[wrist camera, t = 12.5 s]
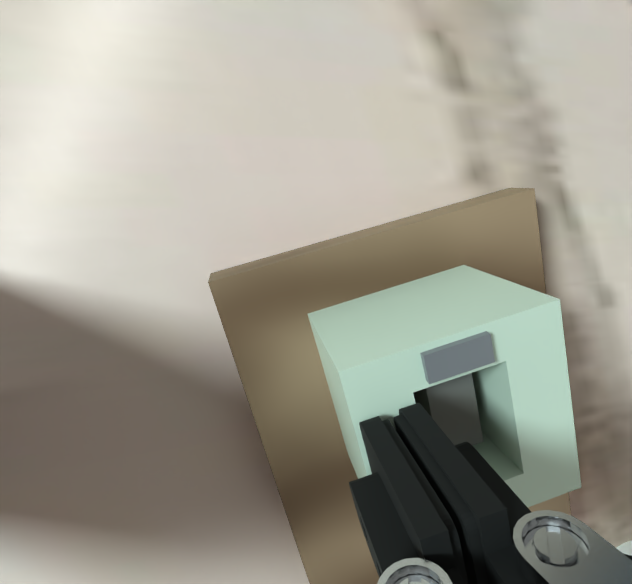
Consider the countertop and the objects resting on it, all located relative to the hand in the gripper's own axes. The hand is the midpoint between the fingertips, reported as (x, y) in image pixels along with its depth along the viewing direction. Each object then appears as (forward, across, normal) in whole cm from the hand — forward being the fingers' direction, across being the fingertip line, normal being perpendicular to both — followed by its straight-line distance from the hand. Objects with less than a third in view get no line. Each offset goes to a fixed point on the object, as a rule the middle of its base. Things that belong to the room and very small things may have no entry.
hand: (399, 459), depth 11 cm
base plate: (+7, -2, +5) cm, 9 cm away
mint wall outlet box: (+5, -2, 0) cm, 6 cm away
